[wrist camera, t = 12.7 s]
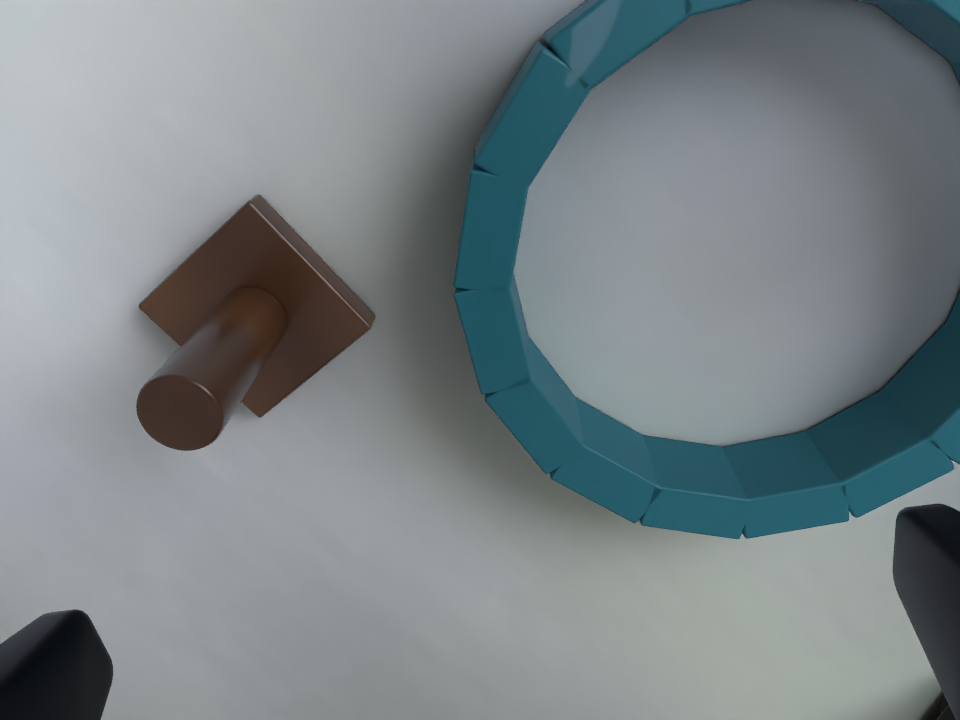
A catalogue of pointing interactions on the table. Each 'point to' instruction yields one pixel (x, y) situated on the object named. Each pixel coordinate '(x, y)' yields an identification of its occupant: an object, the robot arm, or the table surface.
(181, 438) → the post
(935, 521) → the robot arm
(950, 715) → the figurine
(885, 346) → the table surface
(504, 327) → the ring
